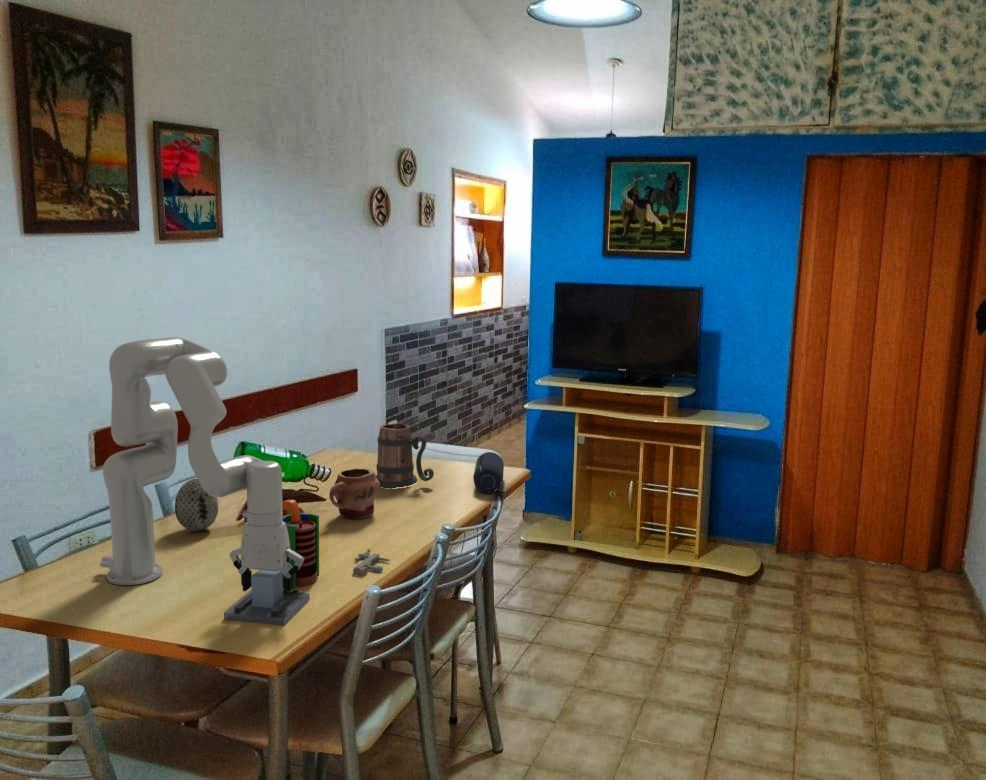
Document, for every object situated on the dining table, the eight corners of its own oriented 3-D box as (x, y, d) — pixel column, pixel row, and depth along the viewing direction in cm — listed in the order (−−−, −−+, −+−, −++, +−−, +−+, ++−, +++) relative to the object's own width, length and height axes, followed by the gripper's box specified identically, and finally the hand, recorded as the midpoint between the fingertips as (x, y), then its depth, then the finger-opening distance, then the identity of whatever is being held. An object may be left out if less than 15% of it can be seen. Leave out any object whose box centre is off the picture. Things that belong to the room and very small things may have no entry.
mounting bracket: (224, 619, 186) (223, 608, 186) (253, 594, 200) (252, 584, 199) (284, 625, 184) (283, 614, 183) (309, 599, 197) (309, 589, 197)
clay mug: (349, 529, 247) (349, 482, 245) (316, 522, 252) (315, 476, 250) (389, 511, 264) (389, 467, 262) (357, 505, 270) (357, 462, 268)
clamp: (374, 571, 211) (338, 565, 214) (374, 579, 211) (338, 573, 214) (400, 551, 225) (366, 546, 228) (400, 559, 225) (367, 554, 228)
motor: (307, 590, 202) (305, 509, 199) (272, 587, 204) (269, 506, 201) (323, 574, 212) (322, 497, 209) (290, 571, 214) (288, 494, 211)
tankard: (361, 484, 293) (360, 427, 290) (388, 473, 308) (388, 419, 305) (419, 494, 283) (419, 435, 280) (444, 482, 298) (445, 426, 295)
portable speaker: (476, 476, 307) (476, 449, 306) (503, 476, 307) (504, 449, 305) (472, 496, 282) (472, 466, 281) (502, 496, 282) (503, 467, 281)
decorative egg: (184, 539, 236) (182, 487, 233) (169, 528, 245) (167, 478, 242) (225, 531, 243) (223, 480, 241) (210, 521, 252) (207, 471, 250)
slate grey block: (252, 606, 189) (251, 576, 188) (265, 594, 196) (264, 565, 195) (273, 608, 189) (272, 578, 187) (285, 596, 195) (284, 567, 194)
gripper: (220, 519, 186) (223, 594, 189) (295, 525, 183) (297, 601, 186) (236, 509, 193) (239, 581, 196) (309, 515, 190) (310, 587, 193)
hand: (267, 590), depth 191 cm, fingers open, 9 cm apart
